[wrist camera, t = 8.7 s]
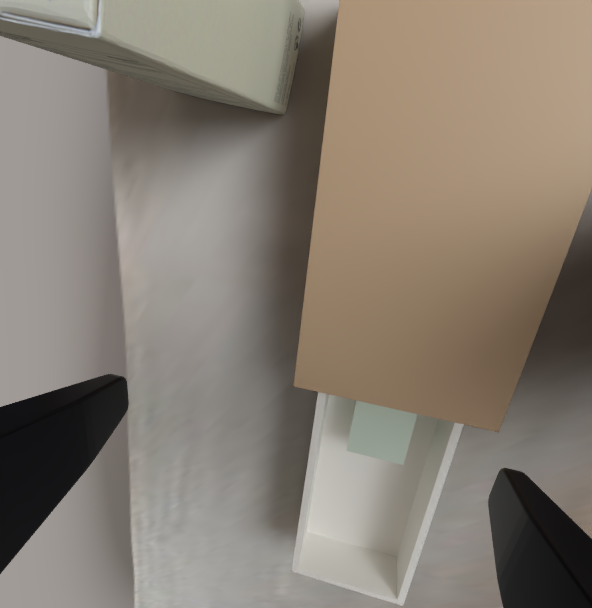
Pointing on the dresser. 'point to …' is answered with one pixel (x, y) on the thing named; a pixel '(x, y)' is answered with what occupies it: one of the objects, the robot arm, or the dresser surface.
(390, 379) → the sleeve
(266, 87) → the skincare box
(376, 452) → the soap bar
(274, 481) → the dresser surface
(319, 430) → the tray
